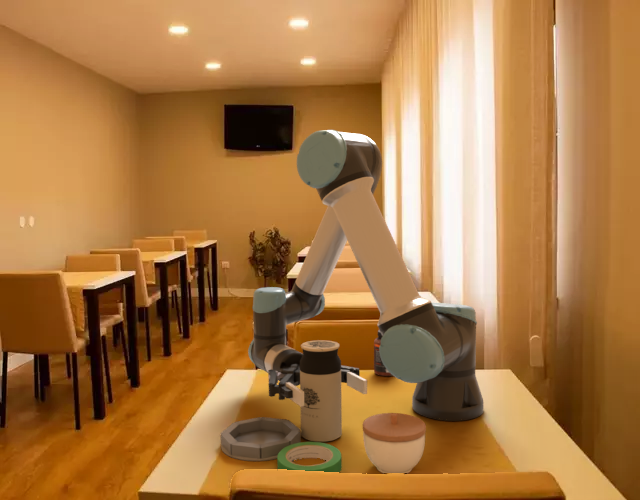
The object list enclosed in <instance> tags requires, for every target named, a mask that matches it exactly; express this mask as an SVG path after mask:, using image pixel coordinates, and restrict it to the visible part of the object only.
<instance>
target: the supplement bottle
mask: <svg viewBox="0 0 640 500" xmlns="http://www.w3.org/2000/svg"><path fill="white" fill-rule="evenodd" d="M382 337H383V336H382V334H381V332H380V330H379V329H378V330H377V337H376V338H375V339H374V341H373V350H374V351H373V371H374V373H375V375H377V376H381V377H390V376H392V377H393V375H392V374H391V373H390V372H389V371H388V370H387V369H386V367H385V366H384V364H383V362H382V360H381V357H380V352H379V346H380V345H381V339H382Z"/></svg>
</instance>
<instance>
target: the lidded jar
mask: <svg viewBox="0 0 640 500" xmlns="http://www.w3.org/2000/svg"><path fill="white" fill-rule="evenodd" d="M426 430H427V427H426V423H425V422H424V421H423V419H420V418H419V417H417V416H414V415H412V414H411V415H410V414H407V413H406V414H405V413H401V412H400V413H399V412H385V413H377V414H374V415H373V414H372V415H371V416H369V417H367V418H366V419H364V420H363V422H362V432H363V435H362V437H363V444H364V445H363V446H364V450H365V453H366V455H367V458H368V460H369V461H370V462H371V463H372V465H374V467H376V470H377V471H379V472H380V473H382V474H384V473H407V474H409V473H410V472H411V471H412V470H413V469H414V467H416V465H418V463H419V462H420V461H421V458H422V457H423V454H424V451H425V445H426V443H425V442H426Z"/></svg>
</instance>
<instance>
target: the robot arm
mask: <svg viewBox="0 0 640 500" xmlns="http://www.w3.org/2000/svg"><path fill="white" fill-rule="evenodd" d="M296 169H297V174H298V176H299V178H300V179H301V181H302V182H303V183H304V184H305V185H307V186H308V187H310V188H313V189H316V192H317V193H318V196H319V198H320V200H321V203H322V204H323V205H325V206H327V207H326V209H325V212H324V214H323V216H322V218H321V221H320V223H319V225H318V228H317V230H316V232H315V235H314V237H313V240H312V242H311V244H310V247H309V249H308V251H307V253H306V256H305V258H304V261H303V264H302V266H301V268H300V269H299V272H298V275H297V277H296V279H295V281H294V283H293V286H292V289H291V290H290V291H288V292H286V291H285V289H284V288H281V287H276V286H274V287H273V286H271V287H270V286H267V287H260V288H256V289H255V290H254V292H253V294H252V295H253V296H252V297H253V300H252V311H253V312H252V314H253V317H252V318H253V338H252V340H251V342H250V344H249V347H248V348H247V349H248V350H247V352H248V353H247V354H248V357H249V359H250V361H251V362H252V363H253V364H254V365H255V367H256V368H258V369H260V370H262V371H264V372H266V373H267V374H268V396H269V397H271V398H273V397H276V395H278V400H280V401H283V400H286V399H289V400H290V401H292V402H293V403H295V404H296V405H298V406H299V407H300V408H301V407H302V406H304V391H302V390H301V389H300V387H298V386H300V360H301V358H302V356H303V352H300V351H298V350H296V348H292V347H290V346H288V345H287V326H288V325H291V324H294V323H297V322H300V321H303V320H309V319H312V318H314V317H315V316H318V315H319V314H321V313H322V312H323V311H324V309H325V306H326V303H325V301H326V300H325V299H326V298H325V297H326V296H325V295H324V292H325V290H326V288H327V286H328V283H329V282H330V279H331V277H332V275H333V273H334V271H335V268H336V266H337V264H338V263H339V259H340V258H341V255H342V253H343V251H344V249H345V247H346V244H347V242H348V244H349V247H350V250H351V251H352V253H353V256H354V257H355V260H356V262H357V265H358V267H359V268H360V271H361V273H362V275H363V277H364V279H365V281H366V284H367V286H368V289H369V291H370V293H371V295H372V297H373V300H374V302H375V304H376V306H377V309H378V311H379V313H380V314H379V315H380V316H379V319H378V322H377V325H376V326H377V327H378V330H380V332H381V334H382V336H383V337H382V339H381V345H380V346H379V352H380V357H381V360H382V362H383V364H384V366H385V367H386V369H387V370H388V371H389V372H390V373H391V374H392V377H395V378H396V379H398V380H400V381H401V382H404V383H409V384H416V386H415V389H414V391H413V393H412V397H411V398H412V399H411V400H412V403H411V405H412V410H413V411H414V412H415V413H416V414H418V415H421V416H422V417H425V418H430V419H432V420H438V421H446V422H456V421H457V422H459V421H461V422H462V421H469V420H473V419H476V418H478V417H480V416H481V415H483V413H484V398H483V395H482V392H481V389H480V386H479V382H478V380H477V379H478V378H477V376H476V364H477V363H476V355H477V353H476V351H477V350H476V349H477V347H476V345H477V324H478V321H477V315H476V310H475V309H474V307H473V306H470V305H466V304H458V303H446V302H432V300H430V299H427V298H424V297H422V296H421V295H420V293H419V291H418V290H417V289H418V288H417V287H416V285H415V283H414V281H413V278H412V276H411V274H410V272H409V269H408V267H407V265H406V263H405V261H404V259H403V257H402V254H401V252H400V251H399V248H398V247H397V244H396V241H395V239H394V237H393V236H392V233H391V230H390V229H389V227H388V224H387V222H386V220H385V218H384V216H383V214H382V211H381V210H380V207H379V205H378V203H377V201H376V198H375V196H374V194H375V191H376V189H377V187H378V184H379V181H380V178H381V176H382V175H381V174H382V170H383V157H382V153H381V150H380V148H379V147H378V145H377V144H376V142H375V141H374V140H372V139H371V138H370V137H368V136H367V135H365V134H361V133H354V132H353V133H351V132H343V131H338V130H335V129H327V130H326V129H325V130H316V131H314V132H312V133H311V134H309V135H307V137H306V138H305V139H304V140H303V141H302V143H301V145H300V146H299V150H298V154H297V155H296ZM341 384H346V386H348V387H349V388H351V389H354V390H355V391H357V392H358V393H360V394H363V395H367V394H368V379H365V378H363V377H362V376H361V375H360V368H359V367H353V366H347V365H342V364H341Z"/></svg>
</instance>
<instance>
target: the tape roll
mask: <svg viewBox="0 0 640 500" xmlns="http://www.w3.org/2000/svg"><path fill="white" fill-rule="evenodd" d="M302 458H304V459H317V458H320V459H319V460H322V459H323V460H322V461H324V462H322V463H316V464H312V465H304V464H298V463H295V461H294V460H296V461H298V460H297V459H299V460H303V459H302ZM276 460H277V463H276V464H277V470H278V469H287V470H305V471H324V472H340V471H342V469H343V468H342V460H343V459H342V452H341V451H340V449H338V448H337V447H335V446H333V445H332V444H328V443H327V442H314V441H304V442H301V443H296V444H292V445H289V446H287V447H285V448H283V449H282V450H281V451H280V452H279V453H278V456H277V459H276ZM325 460H326V461H325ZM293 461H294V462H293ZM341 468H342V469H341ZM340 473H341V472H340Z"/></svg>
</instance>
